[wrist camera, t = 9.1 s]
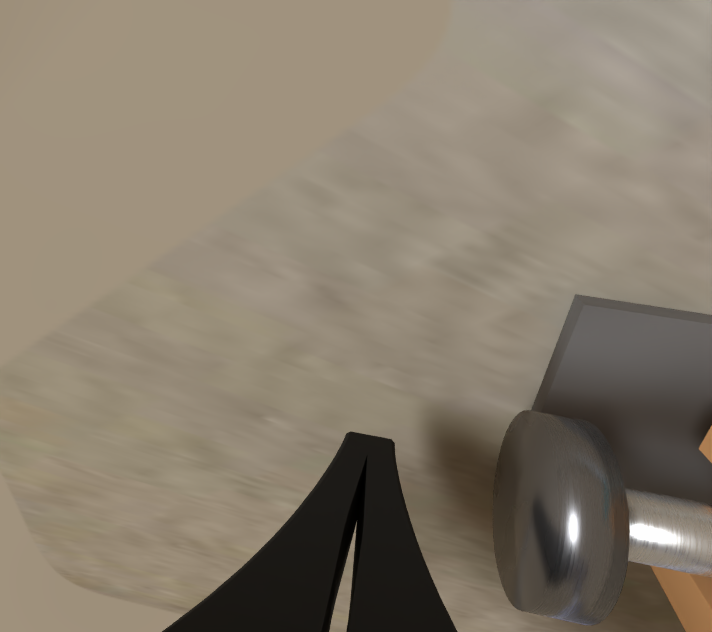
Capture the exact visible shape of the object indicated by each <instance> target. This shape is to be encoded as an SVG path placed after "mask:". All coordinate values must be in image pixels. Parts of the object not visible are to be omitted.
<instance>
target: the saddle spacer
mask: <svg viewBox="0 0 712 632" xmlns="http://www.w3.org/2000/svg"><path fill="white" fill-rule="evenodd" d="M699 450H700V451H701V452H702V453H703V454H704V455H705V456H706V458H707V459H708V460H709V461H710V462H711V463H712V426H711V428H710V429H709V431H708V433H707V435H706V436H705V438H704V440H703V442H702V443H701V445H700V447H699ZM650 566H651V565H650ZM651 568H652V570H653V571H654V573H655V575H656V577H657V579H658V581H659V583H660V584H661V586H662V588H663V590H664V592H665V594H666V596H667V597H668V599H669V601H670V603H671V605H672V607H673V609H674V610H675V612H676V614H677V616H678V618H679V620H680V622H681V623H682V625H683V627H684V629H685V631H686V632H712V578H709V577H704V576H700V575H695V574H690V573H685V572H680V571H675V570H671V569H666V568H661V567H656V566H651Z"/></svg>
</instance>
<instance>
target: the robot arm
mask: <svg viewBox="0 0 712 632" xmlns="http://www.w3.org/2000/svg"><path fill="white" fill-rule="evenodd" d="M356 522H357V527H356V540H355V552H354V564H353V577H352V589H351V601H350V610H349V619H348V625H347V632H457V630H456V628H455V626H454V624H453V622H452V620H451V618H450V616H449V614H448V612H447V610H446V608H445V606H444V604H443V602H442V600H441V598H440V596H439V593H438V591H437V589H436V587H435V584H434V582H433V580H432V577H431V575H430V573H429V570H428V568H427V565H426V563H425V561H424V558H423V556H422V553H421V550H420V548H419V545H418V542H417V539H416V536H415V533H414V530H413V527H412V524H411V521H410V518H409V515H408V511H407V508H406V504H405V500H404V497H403V493H402V489H401V485H400V481H399V476H398V470H397V465H396V458H395V443H394V442H393V441H392V439H387V438H382V437H376V436H371V435H366V434H361V433H355V432H349V433H347V434H346V436H345V438H344V441H343V443H342V445H341V447H340V449H339V450H338V452H337V454H336V456H335V457H334V459H333V461H332V462H331V464H330V465H329V467H328V468H327V470H326V471H325V473H324V474H323V476H322V477H321V479H320V480H319V482H318V483H317V484H316V486H315V487H314V489H313V490H312V491H311V492H310V494H309V495H308V496H307V498H306V499H305V500H304V501H303V503H302V504H301V505H300V506H299V508H298V509H297V510H296V511H295V513H294V514H293V515H292V516H291V517H290V518H289V520H288V521H287V522H286V523H285V524H284V525H283V526H282V527H281V529H280V530H279V531H278V532H277V533H276V534H275V535H274V536H273V537H272V538H271V539H270V540H269V541H268V542H267V543H266V544H265V545H264V546H263V547H262V548H261V549H260V550H259V551H258V552H257V553H256V554H255V555H254V556H253V557H252V558H251V559H250V560H249V561H248V562H247V563H246V564H245V565H244V566H243V567H242V568H240V569H239V570H238V571H237V572H236V573H235V574H234V575H232V576H231V577H230V578H229V579H228V580H227V581H225V582H224V583H223V584H222V585H221V586H220V587H218V588H217V589H216V590H215V591H214V592H213V593H212V594H210V595H209V596H208V597H207V598H205V599H204V600H203V601H202V602H200V603H199V604H198V605H196V606H195V607H194V608H193V609H191V610H190V611H189V612H187V613H186V614H185V615H183V616H182V617H181V618H179V619H178V620H177V621H176V622H174V623H173V624H172V625H170V626H169V627H168V628H166V629H165V630H164V631H162V632H329V630H330V624H331V619H332V614H333V610H334V605H335V601H336V597H337V593H338V589H339V586H340V582H341V578H342V574H343V571H344V567H345V563H346V559H347V556H348V552H349V548H350V544H351V541H352V537H353V533H354V529H355V526H356Z"/></svg>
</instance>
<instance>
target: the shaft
mask: <svg viewBox="0 0 712 632" xmlns="http://www.w3.org/2000/svg"><path fill="white" fill-rule="evenodd" d="M493 538H494V548H495V556H496V562H497V568H498V572H499V576H500V579H501V583H502V586H503V588H504V591H505V593H506V595H507V597H508V599H509V601H510V602H511V603H512V605H513V606H514V607H515V608H517V609H518V610H521V611H524V612H529V613H533V614H538V615H542V616H547V617H551V618H556V619H560V620H564V621H569V622H573V623H578V624H582V625H595V624H598V623H600V622H601V621H603V620H604V619H605V618H606V617H607V616H608V615H609V614H610V612H611V611H612V610H613V608H614V606H615V604H616V603H617V600H618V598H619V595H620V593H621V590H622V587H623V583H624V580H625V576H626V570H627V564H628V561H632V562H637V563H642V564H647V565H651V566H656V567H661V568H666V569H671V570H675V571H680V572H685V573H690V574H695V575H700V576H704V577H709V578H712V504H709V503H703V502H698V501H693V500H688V499H683V498H677V497H672V496H667V495H662V494H656V493H651V492H646V491H641V490H636V489H630V488H625V485H624V481H623V477H622V473H621V470H620V467H619V464H618V461H617V459H616V456H615V454H614V452H613V450H612V448H611V445H610V444H609V442H608V441H607V439H606V437H605V436H604V435H603V434H602V432H601V431H600V430H599V429H598V428H597V427H596V426H594V425H593V424H591V423H589V422H588V421H584V420H579V419H574V418H568V417H562V416H557V415H551V414H546V413H540V412H534V411H529V410H527V411H522V412H520V413H519V414H518V415H517V416H516V417H515V418H514V419H513V421H512V422H511V424H510V426H509V428H508V430H507V432H506V434H505V437H504V440H503V443H502V446H501V450H500V453H499V458H498V463H497V468H496V475H495V482H494V493H493Z"/></svg>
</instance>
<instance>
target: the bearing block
mask: <svg viewBox="0 0 712 632" xmlns="http://www.w3.org/2000/svg"><path fill="white" fill-rule="evenodd" d="M531 411H534V412H540V413H546V414H551V415H557V416H562V417H568V418H574V419H579V420H584V421H588V422H589V423H591V424H593V425H594V426H596V427H597V428H598V429H599V430H600V431H601V432H602V434H603V435H604V436H605V437H606V439H607V441H608V442H609V444H610V445H611V448H612V450H613V452H614V454H615V456H616V459H617V461H618V464H619V467H620V470H621V473H622V477H623V481H624V485H625V488H630V489H636V490H641V491H646V492H651V493H656V494H662V495H667V496H672V497H677V498H683V499H688V500H693V501H698V502H703V503H709V504H712V463H711V462H710V461H709V460H708V459H707V458H706V456H705V455H704V454H703V453H702V452H701V451H700V450H699V447H700V445H701V443H702V442H703V440H704V438H705V436H706V435H707V433H708V431H709V429H710V428H711V426H712V315H707V314H700V313H694V312H687V311H680V310H674V309H667V308H661V307H654V306H648V305H641V304H634V303H628V302H621V301H615V300H608V299H601V298H595V297H588V296H582V295H575V297H574V300H573V303H572V305H571V308H570V310H569V313H568V316H567V318H566V321H565V324H564V326H563V329H562V331H561V334H560V337H559V339H558V342H557V345H556V347H555V350H554V352H553V355H552V358H551V360H550V363H549V365H548V368H547V371H546V373H545V376H544V379H543V381H542V384H541V386H540V389H539V392H538V394H537V397H536V400H535V402H534V405H533V407H532V410H531Z"/></svg>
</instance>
